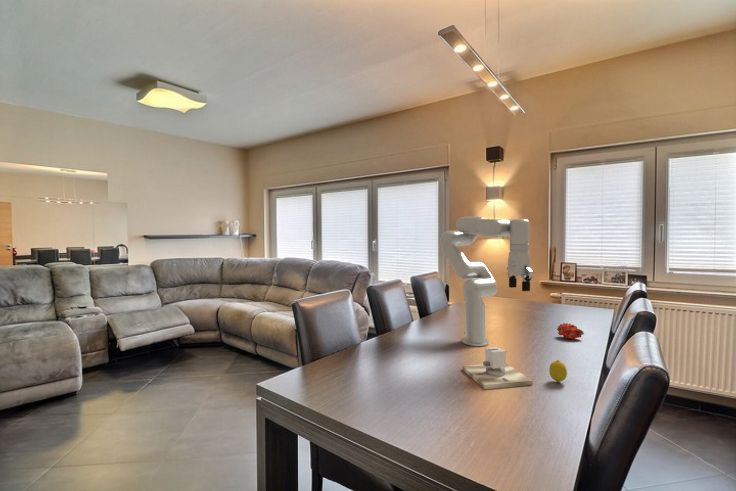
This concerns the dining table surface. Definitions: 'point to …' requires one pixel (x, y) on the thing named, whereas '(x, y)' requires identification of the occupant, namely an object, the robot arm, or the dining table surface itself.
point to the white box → (495, 357)
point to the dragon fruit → (569, 331)
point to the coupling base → (496, 376)
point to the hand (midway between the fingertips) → (519, 289)
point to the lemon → (558, 371)
